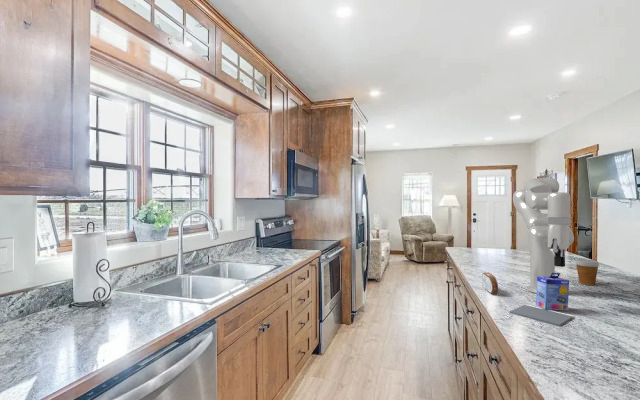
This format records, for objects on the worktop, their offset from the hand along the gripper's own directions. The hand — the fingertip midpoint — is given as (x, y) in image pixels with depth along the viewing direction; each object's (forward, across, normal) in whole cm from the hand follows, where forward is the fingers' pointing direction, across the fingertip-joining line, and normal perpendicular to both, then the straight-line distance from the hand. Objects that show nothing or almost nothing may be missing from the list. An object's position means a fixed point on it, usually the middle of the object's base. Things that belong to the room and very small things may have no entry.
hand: (559, 266), depth 128 cm
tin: (+16, +2, -28) cm, 32 cm away
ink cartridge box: (+16, +8, 0) cm, 18 cm away
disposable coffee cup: (+16, -53, -4) cm, 55 cm away
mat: (+17, +18, 0) cm, 25 cm away
